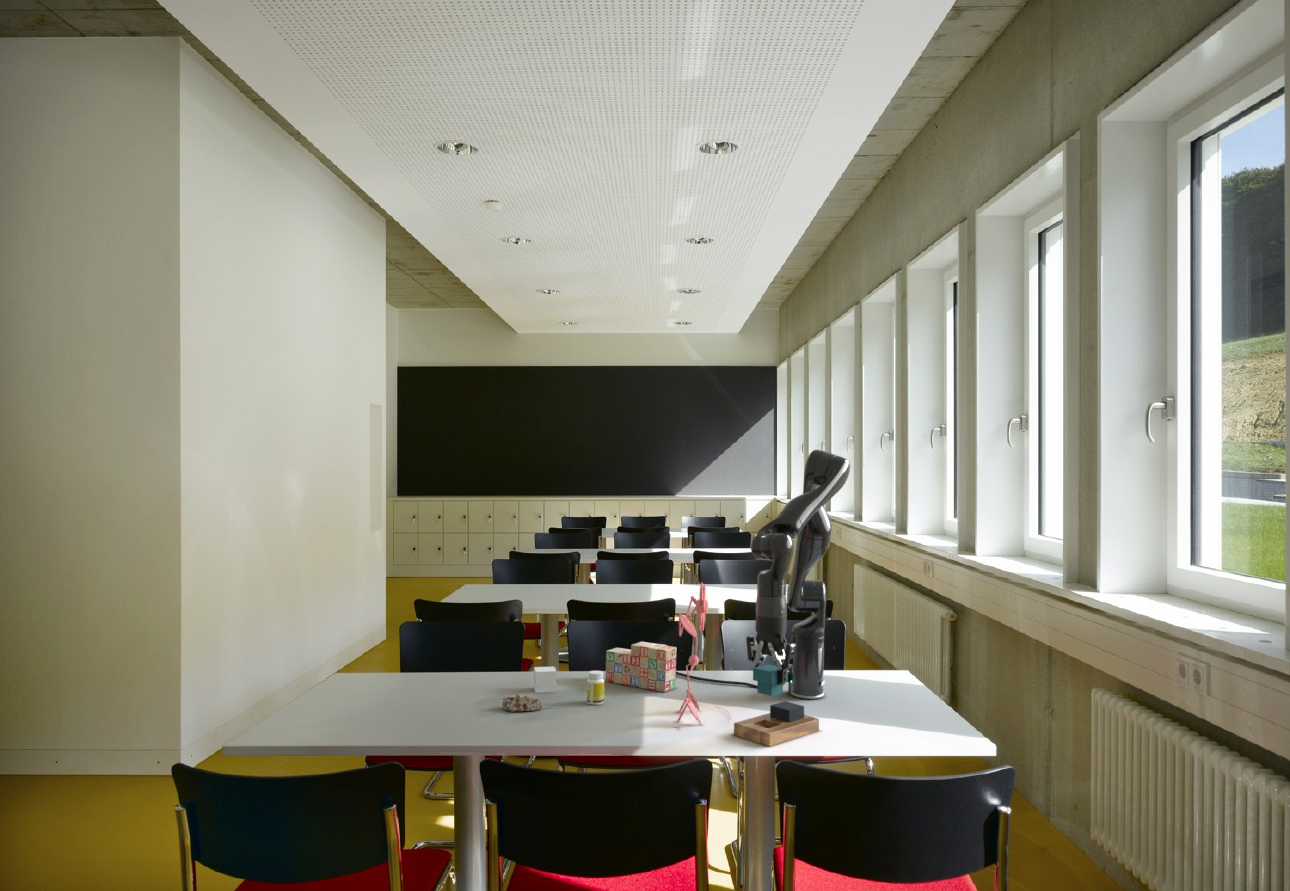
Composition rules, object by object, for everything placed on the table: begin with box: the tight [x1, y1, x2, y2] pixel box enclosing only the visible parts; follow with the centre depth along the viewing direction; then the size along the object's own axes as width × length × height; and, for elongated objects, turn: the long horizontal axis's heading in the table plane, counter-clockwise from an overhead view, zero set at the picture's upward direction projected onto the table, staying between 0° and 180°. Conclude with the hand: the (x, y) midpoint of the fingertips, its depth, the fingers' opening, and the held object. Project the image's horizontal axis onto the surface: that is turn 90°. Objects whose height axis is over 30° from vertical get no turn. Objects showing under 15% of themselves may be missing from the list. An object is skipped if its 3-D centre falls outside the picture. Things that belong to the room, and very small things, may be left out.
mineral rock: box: [501, 693, 542, 713], centre depth 231 cm, size 11×4×8 cm
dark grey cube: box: [769, 700, 805, 723], centre depth 217 cm, size 6×6×6 cm
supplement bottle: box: [586, 670, 605, 706], centre depth 238 cm, size 5×5×8 cm
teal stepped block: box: [752, 664, 789, 697], centre depth 211 cm, size 6×6×6 cm
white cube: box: [533, 666, 558, 694], centre depth 251 cm, size 6×6×6 cm
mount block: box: [733, 712, 820, 747], centre depth 214 cm, size 11×19×3 cm, turn 133°
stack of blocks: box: [605, 641, 677, 693], centre depth 259 cm, size 21×6×12 cm, turn 58°
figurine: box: [674, 582, 732, 729], centre depth 226 cm, size 15×26×35 cm, turn 175°
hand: (770, 682), depth 211 cm, fingers closed on teal stepped block, 6 cm apart
